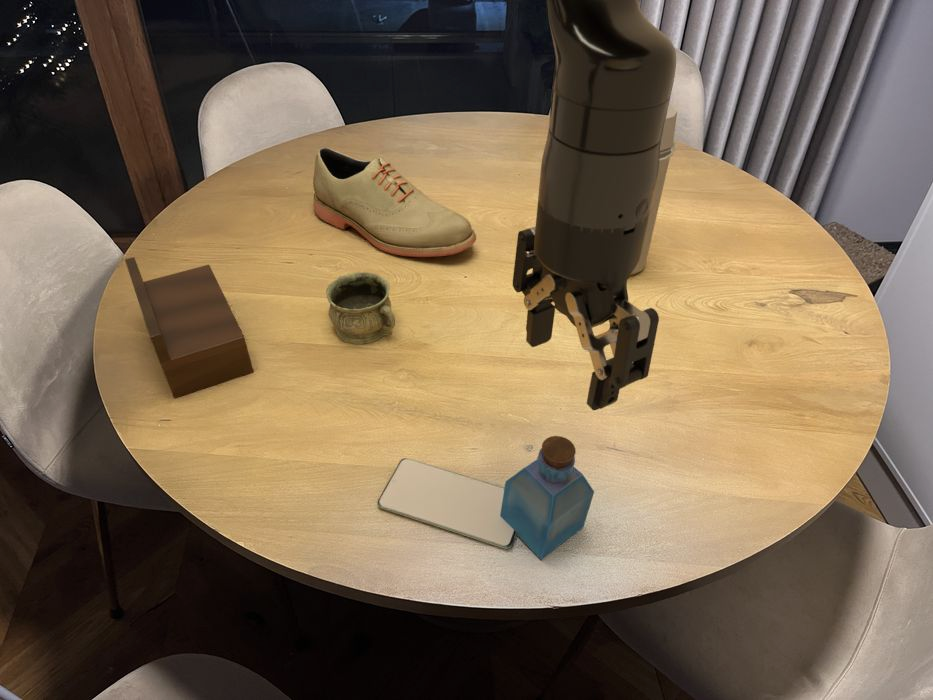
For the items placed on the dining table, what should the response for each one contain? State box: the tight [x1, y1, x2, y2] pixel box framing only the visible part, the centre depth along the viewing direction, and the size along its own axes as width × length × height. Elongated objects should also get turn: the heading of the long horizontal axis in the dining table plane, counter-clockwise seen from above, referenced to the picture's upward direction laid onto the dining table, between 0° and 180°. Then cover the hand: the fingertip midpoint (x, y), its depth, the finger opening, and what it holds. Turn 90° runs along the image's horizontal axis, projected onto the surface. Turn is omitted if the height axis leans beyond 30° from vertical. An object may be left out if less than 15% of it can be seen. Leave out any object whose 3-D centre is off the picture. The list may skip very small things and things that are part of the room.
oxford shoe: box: [312, 147, 477, 258], centre depth 109 cm, size 11×32×12 cm, turn 61°
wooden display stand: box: [124, 256, 254, 399], centre depth 88 cm, size 18×10×10 cm, turn 29°
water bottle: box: [630, 104, 678, 276], centre depth 98 cm, size 9×8×25 cm
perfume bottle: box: [500, 435, 595, 560], centre depth 67 cm, size 6×6×12 cm
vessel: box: [325, 271, 396, 345], centre depth 93 cm, size 12×9×6 cm
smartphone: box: [377, 457, 517, 549], centre depth 72 cm, size 7×1×15 cm
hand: (567, 372), depth 56 cm, fingers open, 8 cm apart
